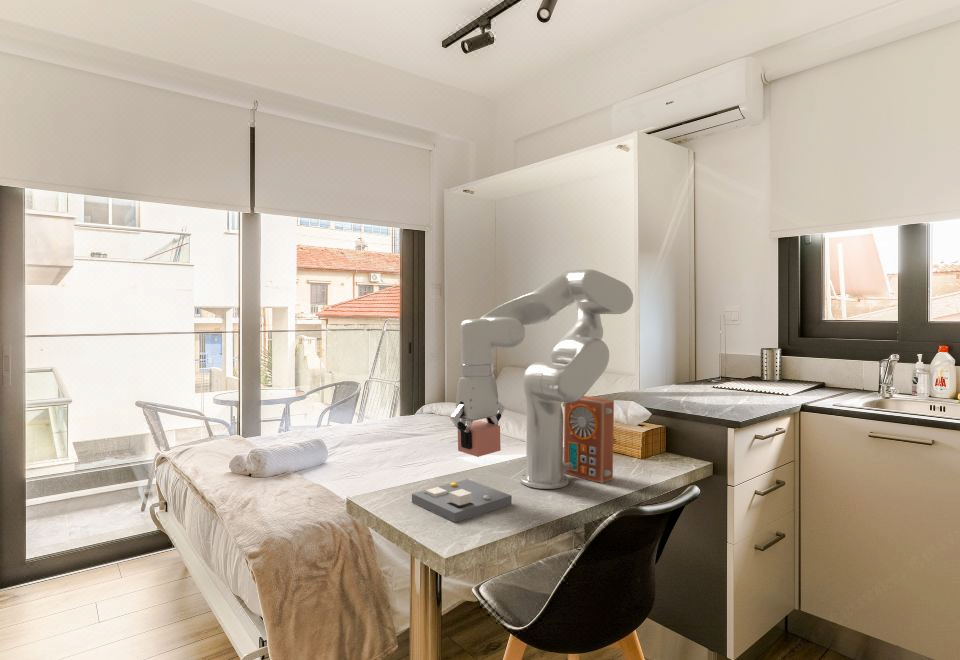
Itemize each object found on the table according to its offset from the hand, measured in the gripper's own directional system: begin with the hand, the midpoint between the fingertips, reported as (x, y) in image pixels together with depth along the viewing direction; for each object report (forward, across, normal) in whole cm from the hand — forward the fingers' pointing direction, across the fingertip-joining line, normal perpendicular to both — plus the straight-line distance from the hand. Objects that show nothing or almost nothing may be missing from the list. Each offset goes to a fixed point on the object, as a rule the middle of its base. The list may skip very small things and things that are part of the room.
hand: (479, 444), depth 130 cm
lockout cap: (+2, 0, 0) cm, 2 cm away
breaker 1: (+12, +10, -5) cm, 16 cm away
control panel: (+14, -34, +6) cm, 37 cm away
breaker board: (+13, +6, 0) cm, 14 cm away
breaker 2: (+10, +10, +4) cm, 15 cm away
